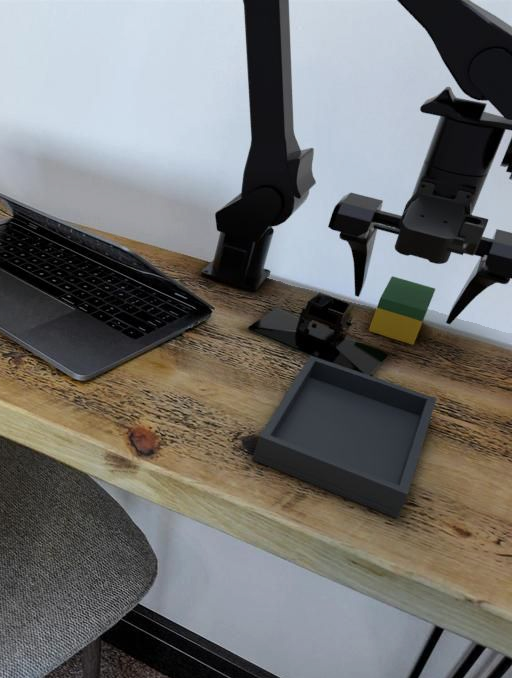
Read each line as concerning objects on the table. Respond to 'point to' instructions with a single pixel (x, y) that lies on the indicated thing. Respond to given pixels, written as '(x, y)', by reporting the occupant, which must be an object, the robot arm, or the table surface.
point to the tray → (348, 434)
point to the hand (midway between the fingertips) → (401, 308)
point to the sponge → (401, 310)
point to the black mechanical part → (321, 334)
